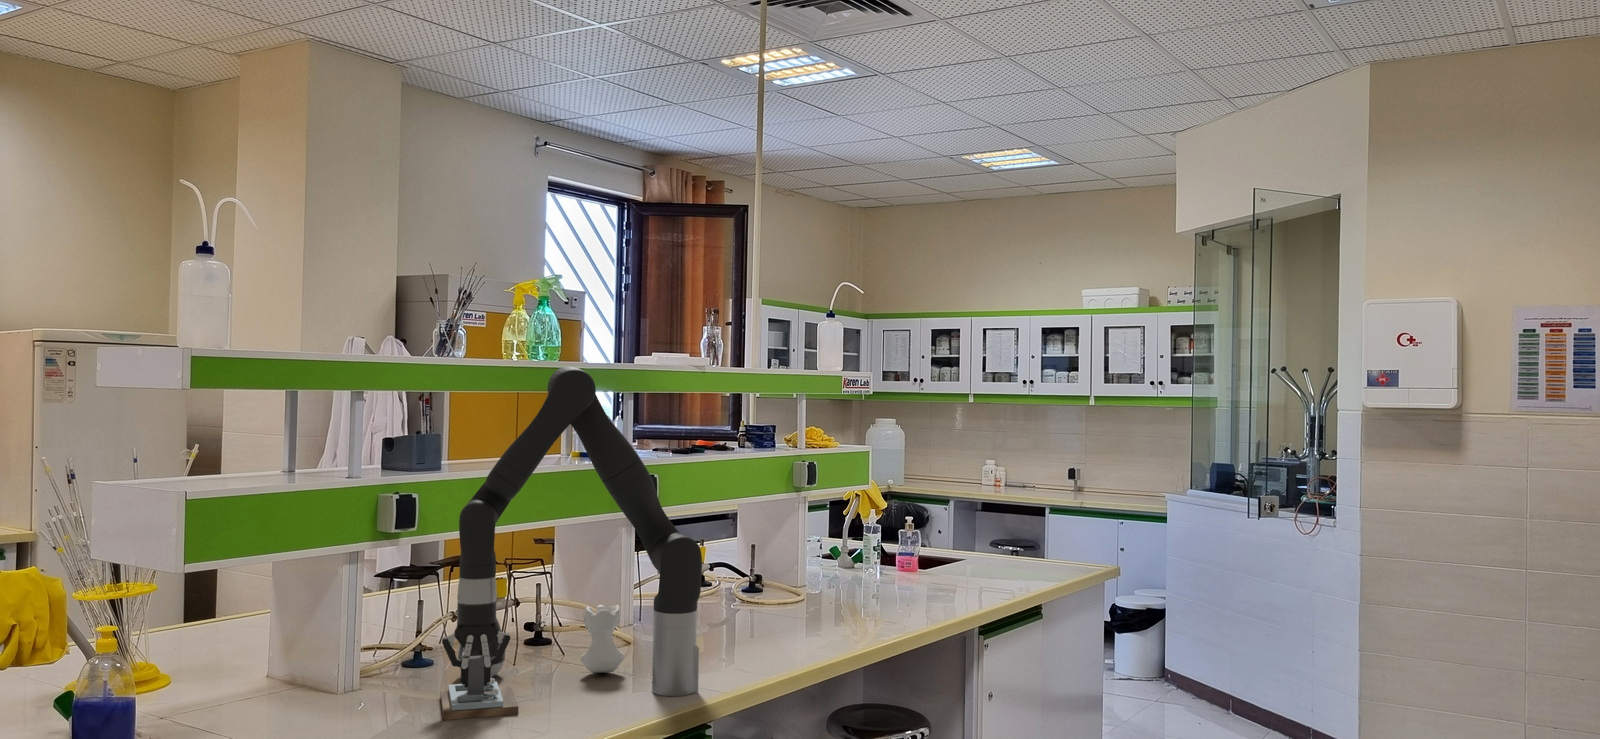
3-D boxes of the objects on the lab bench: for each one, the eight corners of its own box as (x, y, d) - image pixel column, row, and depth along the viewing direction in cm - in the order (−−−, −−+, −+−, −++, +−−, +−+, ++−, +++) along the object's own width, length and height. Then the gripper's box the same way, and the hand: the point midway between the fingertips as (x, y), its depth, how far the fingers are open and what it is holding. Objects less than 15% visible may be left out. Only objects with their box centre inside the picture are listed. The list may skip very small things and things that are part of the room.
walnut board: (510, 693, 233) (511, 673, 233) (518, 714, 218) (518, 692, 218) (440, 698, 228) (440, 678, 228) (443, 720, 213) (443, 698, 213)
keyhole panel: (496, 686, 232) (497, 647, 232) (503, 706, 217) (504, 665, 217) (448, 689, 228) (449, 650, 229) (451, 710, 213) (452, 668, 214)
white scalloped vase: (581, 680, 244) (582, 611, 245) (577, 668, 255) (579, 602, 256) (625, 677, 247) (626, 610, 247) (620, 666, 258) (621, 601, 258)
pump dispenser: (447, 676, 246) (449, 607, 246) (490, 668, 253) (491, 601, 254) (470, 685, 239) (472, 614, 239) (513, 677, 246) (515, 608, 246)
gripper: (511, 594, 229) (509, 678, 229) (439, 597, 224) (437, 684, 224) (514, 600, 222) (513, 688, 221) (441, 604, 217) (439, 693, 217)
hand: (475, 685), depth 223 cm, fingers closed on keyhole panel, 3 cm apart
